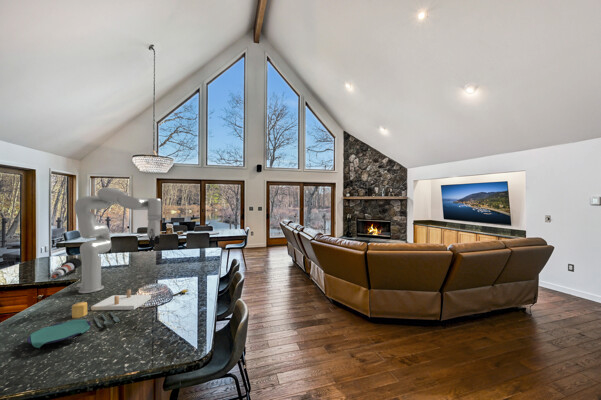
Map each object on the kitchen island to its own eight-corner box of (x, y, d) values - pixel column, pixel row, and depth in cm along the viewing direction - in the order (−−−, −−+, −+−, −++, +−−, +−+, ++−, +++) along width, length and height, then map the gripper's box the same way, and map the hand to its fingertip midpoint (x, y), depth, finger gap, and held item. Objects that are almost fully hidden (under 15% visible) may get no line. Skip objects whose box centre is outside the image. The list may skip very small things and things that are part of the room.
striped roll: (53, 267, 183) (65, 277, 186) (74, 255, 214) (84, 263, 217) (40, 277, 180) (52, 287, 183) (63, 263, 211) (73, 271, 214)
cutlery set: (25, 336, 107) (25, 331, 107) (111, 313, 130) (111, 308, 130) (27, 354, 94) (27, 348, 94) (123, 325, 117) (123, 320, 117)
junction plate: (91, 310, 132) (91, 298, 132) (112, 298, 148) (112, 288, 148) (134, 309, 133) (134, 298, 133) (151, 298, 149) (151, 287, 149)
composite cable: (172, 297, 151) (172, 293, 151) (169, 295, 154) (169, 291, 154) (189, 293, 158) (189, 289, 158) (186, 291, 161) (186, 287, 161)
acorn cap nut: (68, 318, 123) (68, 306, 123) (78, 313, 129) (78, 302, 129) (80, 317, 124) (80, 306, 124) (89, 312, 129) (90, 301, 129)
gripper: (152, 217, 166) (152, 243, 166) (142, 218, 149) (142, 247, 149) (164, 217, 168) (164, 242, 168) (156, 218, 151) (156, 247, 151)
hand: (154, 245), depth 158 cm, fingers open, 9 cm apart
